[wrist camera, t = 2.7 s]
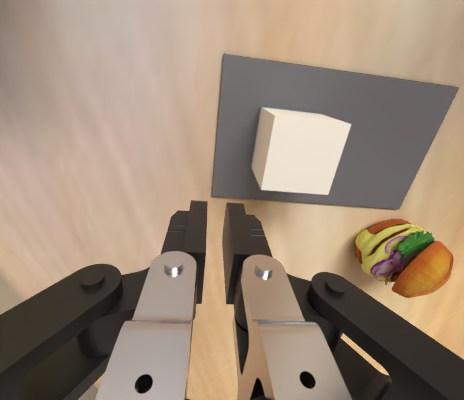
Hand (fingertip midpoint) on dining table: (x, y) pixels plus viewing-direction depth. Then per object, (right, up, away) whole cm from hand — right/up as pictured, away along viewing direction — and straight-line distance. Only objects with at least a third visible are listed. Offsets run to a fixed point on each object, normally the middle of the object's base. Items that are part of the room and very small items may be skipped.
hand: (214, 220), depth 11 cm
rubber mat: (+12, +8, +19) cm, 24 cm away
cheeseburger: (+25, -5, +27) cm, 37 cm away
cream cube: (+7, +8, +18) cm, 21 cm away
